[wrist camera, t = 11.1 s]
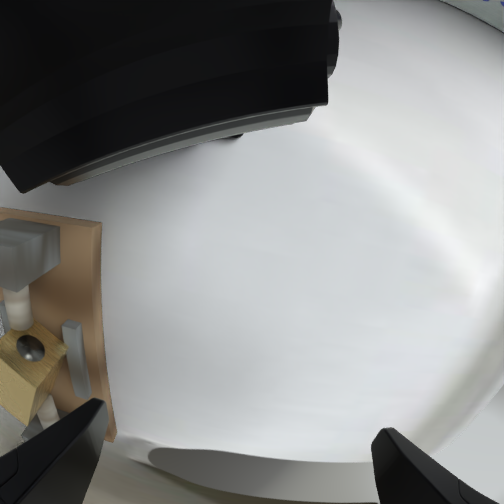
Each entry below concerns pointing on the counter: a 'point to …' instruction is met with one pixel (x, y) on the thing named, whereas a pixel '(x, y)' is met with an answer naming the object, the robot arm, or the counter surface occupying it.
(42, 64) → the robot arm
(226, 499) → the counter surface
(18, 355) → the block
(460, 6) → the soda pack
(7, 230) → the shaft stand
